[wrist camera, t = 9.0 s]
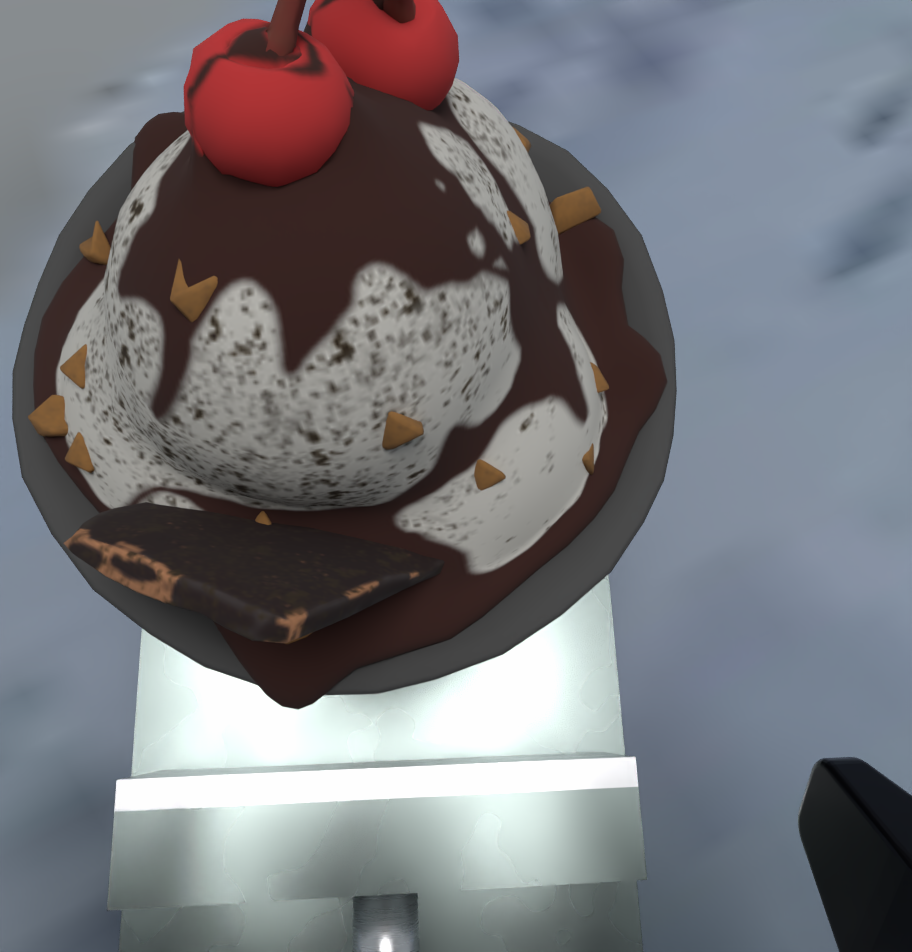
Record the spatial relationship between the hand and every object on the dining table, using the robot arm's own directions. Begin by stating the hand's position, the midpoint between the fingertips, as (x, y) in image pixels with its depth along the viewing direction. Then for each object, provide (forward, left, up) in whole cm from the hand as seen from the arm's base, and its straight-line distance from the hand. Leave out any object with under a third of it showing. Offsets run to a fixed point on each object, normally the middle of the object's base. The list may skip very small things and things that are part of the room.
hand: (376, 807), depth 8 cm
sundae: (+4, -1, -9) cm, 10 cm away
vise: (+3, -1, -10) cm, 10 cm away
